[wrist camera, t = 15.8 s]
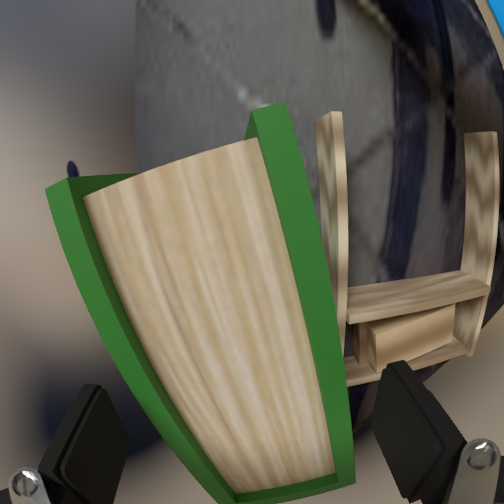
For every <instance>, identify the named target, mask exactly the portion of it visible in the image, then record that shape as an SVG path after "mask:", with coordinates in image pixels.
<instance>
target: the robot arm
mask: <svg viewBox="0 0 504 504" xmlns="http://www.w3.org/2000/svg"><path fill="white" fill-rule="evenodd" d="M370 423H371V428H372V431H373V433H374V435H375V437H376V439H377V442H378V444H379V446H380V448H381V450H382V453H383V455H384V457H385V459H386V461H387V464H388V466H389V468H390V471H391V473H392V475H393V478H394V480H395V482H396V484H397V486H398V489H399V491H400V494H401V496H402V497H403V498H404V499H405V498H407V499H408V501H409V503H412V502H415V501H417V500H420V499H421V501H422V503H423V504H504V456H501V455H500V450H499V448H498V446H497V445H496V444H495V443H494V442H492V441H491V440H488V439H484V438H479V439H474V440H472V441H470V442H469V443H467V441H466V440H465V439H464V437H463V436H462V434H461V433H460V431H459V430H458V428H457V427H456V426H455V424H454V423H453V421H452V420H451V419H450V417H449V416H448V414H447V413H446V412H445V410H444V409H443V408H442V406H441V405H440V403H439V402H438V401H437V399H436V398H435V397H434V395H433V394H432V393H431V392H430V391H429V390H427V389H426V387H425V386H424V385H423V383H422V382H421V381H420V379H419V378H418V377H417V375H416V374H415V373H414V371H413V370H412V369H411V367H410V366H409V365H408V363H407V362H406V361H405V360H400V361H396V362H392V363H388V364H387V366H386V368H384V369H383V370H382V374H381V378H380V383H379V388H378V392H377V396H376V401H375V405H374V409H373V413H372V416H371V422H370ZM129 448H130V438H129V436H128V434H127V432H126V430H125V428H124V426H123V424H122V422H121V421H120V419H119V417H118V414H117V413H116V410H115V408H114V406H113V404H112V402H111V400H110V398H109V396H108V393H107V392H106V390H105V389H102V387H101V386H100V385H94V384H84V385H83V386H82V388H81V389H80V391H79V393H78V395H77V396H76V398H75V400H74V401H73V403H72V405H71V407H70V408H69V410H68V412H67V413H66V415H65V417H64V419H63V421H62V422H61V424H60V426H59V428H58V430H57V431H56V433H55V435H54V437H53V439H52V441H51V443H50V444H49V446H48V448H47V450H46V452H45V454H44V456H43V458H42V460H41V462H40V464H39V466H38V468H39V470H38V472H37V471H36V470H33V469H32V468H21V469H18V470H16V471H15V472H14V473H13V474H12V475H11V477H10V478H9V482H8V487H9V488H7V489H4V490H1V491H0V504H113V502H114V499H115V495H116V492H117V488H118V484H119V481H120V478H121V474H122V471H123V467H124V464H125V461H126V457H127V454H128V451H129Z"/></svg>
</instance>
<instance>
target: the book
mask: <svg viewBox="0 0 504 504" xmlns="http://www.w3.org/2000/svg"><path fill="white" fill-rule="evenodd" d="M475 1H476V3H477V5H478V7H479V9H480V11H481V14H482V16H483V18H484V20H485V22H486V24H487V27H488V29H489V31H490V34H491V36H492V39H493V41H494V44H495V46H496V49H497V51H498V54H499V57H500V60H501V63H502V66H503V69H504V0H475Z"/></svg>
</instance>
